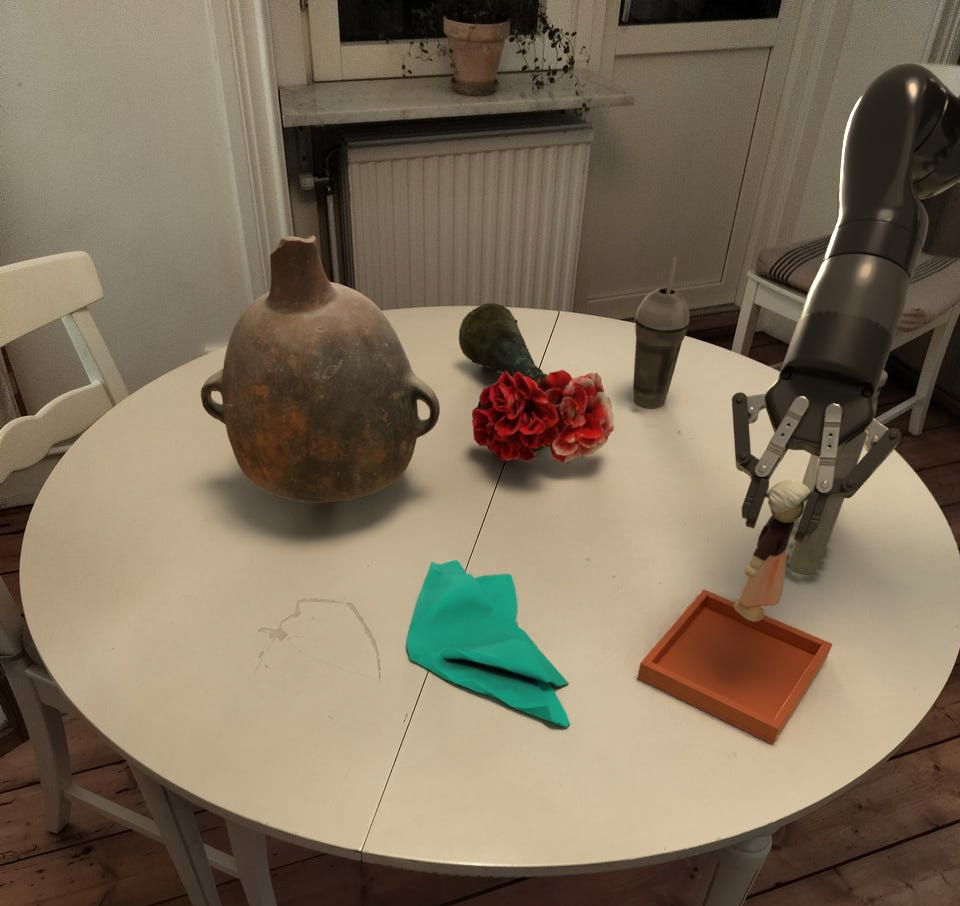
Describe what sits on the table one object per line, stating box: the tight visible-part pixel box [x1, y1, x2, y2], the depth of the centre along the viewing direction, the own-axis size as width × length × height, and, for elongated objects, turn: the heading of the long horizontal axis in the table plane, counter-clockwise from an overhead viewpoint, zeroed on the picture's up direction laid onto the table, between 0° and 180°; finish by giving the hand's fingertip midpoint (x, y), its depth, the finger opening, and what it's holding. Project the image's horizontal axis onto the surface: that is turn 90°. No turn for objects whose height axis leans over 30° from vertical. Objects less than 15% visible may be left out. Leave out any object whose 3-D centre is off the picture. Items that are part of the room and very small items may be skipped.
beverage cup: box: [632, 257, 691, 409], centre depth 115 cm, size 7×7×20 cm
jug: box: [200, 235, 441, 504], centre depth 94 cm, size 24×21×30 cm
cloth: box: [405, 559, 571, 728], centre depth 84 cm, size 26×14×2 cm, turn 16°
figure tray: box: [637, 588, 833, 745], centre depth 82 cm, size 14×14×2 cm
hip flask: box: [787, 369, 889, 575], centre depth 92 cm, size 16×4×20 cm, turn 161°
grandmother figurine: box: [734, 479, 810, 622], centre depth 73 cm, size 8×4×13 cm, turn 155°
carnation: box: [458, 302, 615, 464], centre depth 113 cm, size 16×18×35 cm
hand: (774, 531), depth 70 cm, fingers closed on grandmother figurine, 3 cm apart
